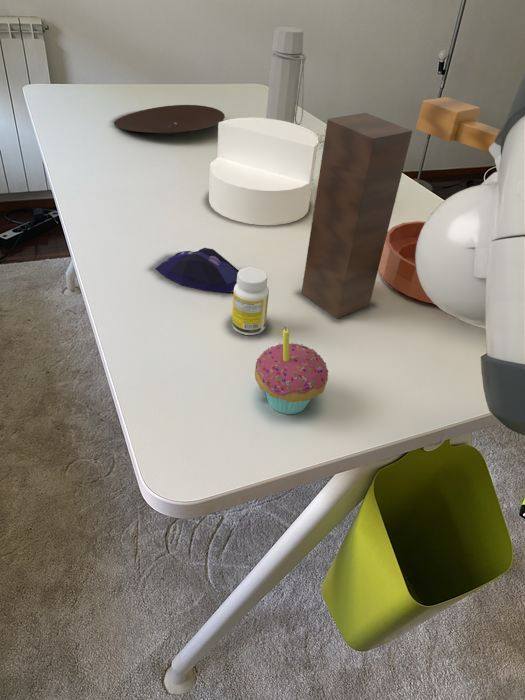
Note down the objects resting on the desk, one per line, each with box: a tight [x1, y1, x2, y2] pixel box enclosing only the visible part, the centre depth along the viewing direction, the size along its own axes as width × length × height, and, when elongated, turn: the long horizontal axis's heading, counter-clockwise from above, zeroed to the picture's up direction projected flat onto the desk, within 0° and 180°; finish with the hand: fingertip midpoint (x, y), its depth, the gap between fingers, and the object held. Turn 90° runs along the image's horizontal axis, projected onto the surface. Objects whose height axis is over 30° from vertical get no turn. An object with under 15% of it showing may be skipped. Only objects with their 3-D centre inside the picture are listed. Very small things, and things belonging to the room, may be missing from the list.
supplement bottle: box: [231, 266, 270, 336], centre depth 75 cm, size 5×5×8 cm
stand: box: [301, 112, 413, 320], centre depth 76 cm, size 8×7×26 cm
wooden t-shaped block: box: [415, 96, 501, 155], centre depth 76 cm, size 15×6×4 cm, turn 38°
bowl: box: [378, 220, 435, 305], centre depth 90 cm, size 18×18×6 cm
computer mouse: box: [155, 247, 240, 294], centre depth 86 cm, size 9×15×4 cm, turn 64°
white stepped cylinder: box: [208, 117, 319, 226], centre depth 106 cm, size 20×20×13 cm
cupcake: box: [254, 324, 329, 415], centre depth 63 cm, size 9×8×12 cm
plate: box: [113, 104, 226, 135], centre depth 140 cm, size 28×28×4 cm
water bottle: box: [265, 26, 307, 126], centre depth 132 cm, size 9×8×25 cm
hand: (504, 141), depth 74 cm, fingers closed on wooden t-shaped block, 3 cm apart
